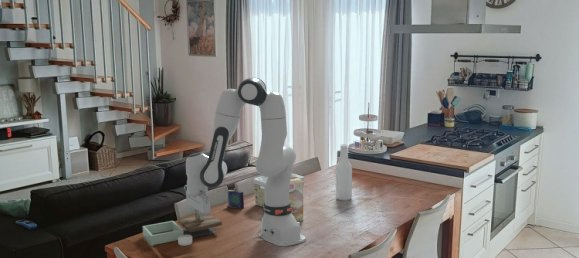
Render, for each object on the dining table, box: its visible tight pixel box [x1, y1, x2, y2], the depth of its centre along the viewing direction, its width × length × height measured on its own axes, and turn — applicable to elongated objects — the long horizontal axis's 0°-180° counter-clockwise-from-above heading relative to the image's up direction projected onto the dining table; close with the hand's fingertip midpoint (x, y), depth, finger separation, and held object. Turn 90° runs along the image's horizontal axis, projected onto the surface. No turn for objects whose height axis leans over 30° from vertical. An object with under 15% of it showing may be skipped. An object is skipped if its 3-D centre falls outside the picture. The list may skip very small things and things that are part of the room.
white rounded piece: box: [177, 234, 193, 247], centre depth 223 cm, size 6×6×4 cm
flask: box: [227, 186, 245, 210], centre depth 273 cm, size 9×3×11 cm, turn 65°
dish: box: [142, 220, 185, 248], centre depth 230 cm, size 14×14×5 cm
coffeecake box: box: [289, 178, 304, 222], centre depth 252 cm, size 15×7×20 cm, turn 105°
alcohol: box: [335, 143, 353, 201], centre depth 285 cm, size 9×9×30 cm
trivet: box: [182, 227, 218, 238], centre depth 238 cm, size 13×13×1 cm
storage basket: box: [252, 173, 305, 209], centre depth 278 cm, size 24×16×15 cm
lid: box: [177, 212, 223, 232], centre depth 236 cm, size 15×15×5 cm
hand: (199, 218), depth 236 cm, fingers closed on lid, 3 cm apart
